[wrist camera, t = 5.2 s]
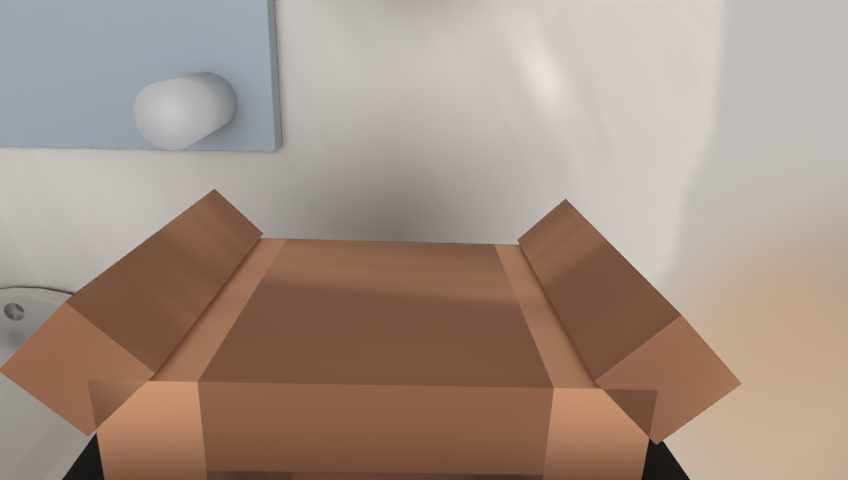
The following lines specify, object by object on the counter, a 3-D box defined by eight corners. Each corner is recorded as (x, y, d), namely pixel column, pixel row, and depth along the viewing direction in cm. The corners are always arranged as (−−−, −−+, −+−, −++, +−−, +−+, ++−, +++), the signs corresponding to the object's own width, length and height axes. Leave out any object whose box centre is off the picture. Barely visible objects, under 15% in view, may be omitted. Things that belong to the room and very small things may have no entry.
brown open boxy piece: (561, 541, 14) (641, 802, 9) (205, 537, 14) (96, 805, 9) (609, 200, 11) (758, 316, 6) (168, 187, 11) (-19, 300, 6)
